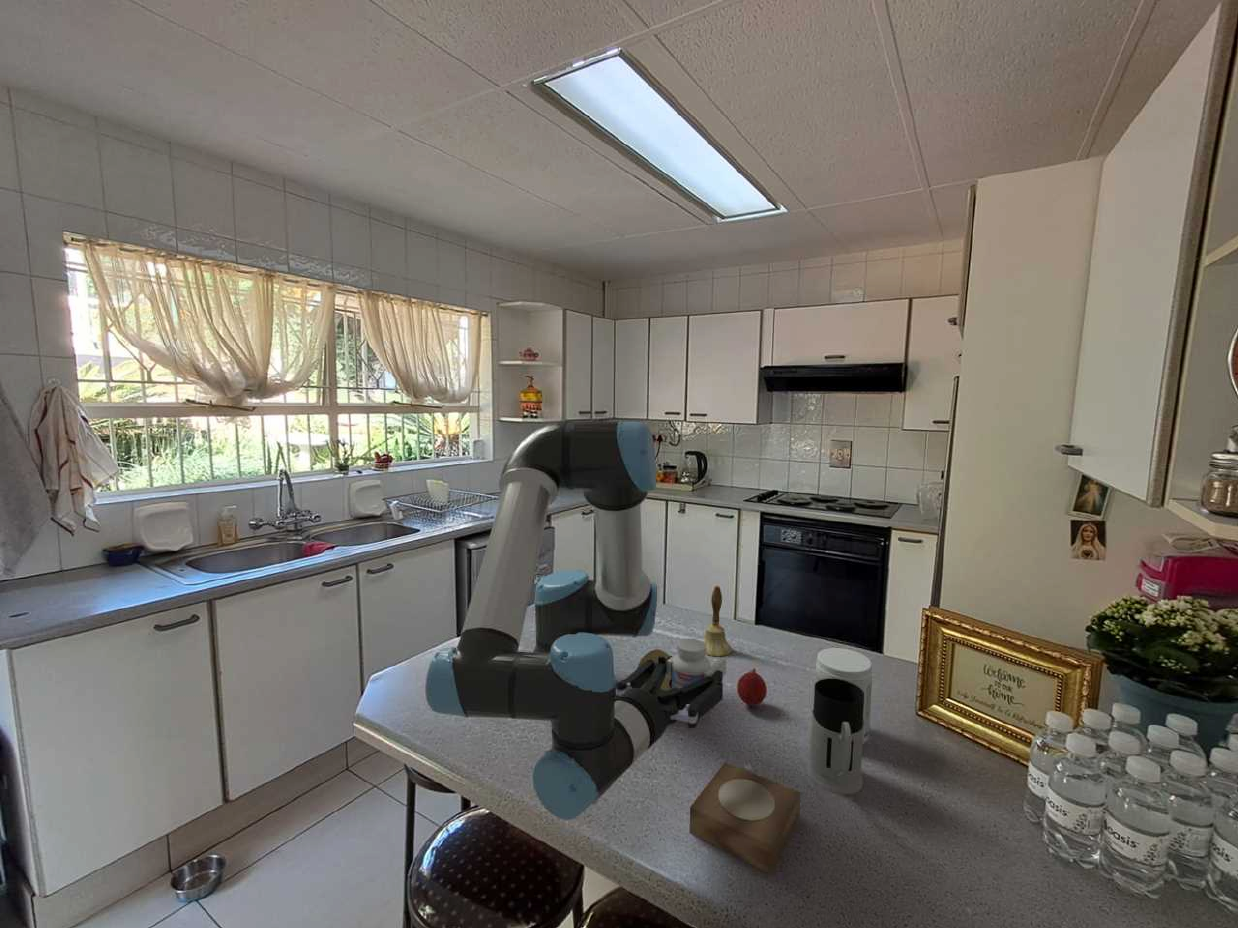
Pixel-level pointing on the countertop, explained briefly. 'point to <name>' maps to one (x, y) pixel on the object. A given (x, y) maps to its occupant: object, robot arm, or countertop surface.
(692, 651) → the pill bottle
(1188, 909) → the countertop surface
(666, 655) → the toy pig
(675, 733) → the countertop surface
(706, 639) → the hand bell
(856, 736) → the glass holder
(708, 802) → the walnut plinth
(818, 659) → the supplement tub
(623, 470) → the robot arm
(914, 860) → the countertop surface
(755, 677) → the onion
